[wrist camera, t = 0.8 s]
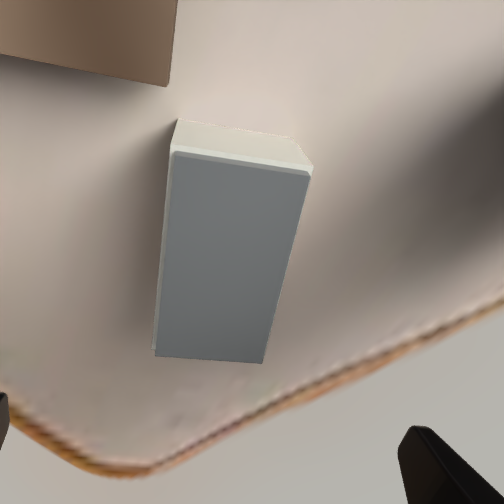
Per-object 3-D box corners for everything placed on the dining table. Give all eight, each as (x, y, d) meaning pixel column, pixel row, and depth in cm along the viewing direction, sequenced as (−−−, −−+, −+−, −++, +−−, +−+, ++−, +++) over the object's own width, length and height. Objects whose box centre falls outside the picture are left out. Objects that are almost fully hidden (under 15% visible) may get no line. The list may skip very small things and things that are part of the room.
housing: (178, 117, 18) (169, 148, 13) (291, 136, 18) (317, 171, 14) (160, 291, 22) (149, 359, 17) (254, 301, 23) (265, 367, 18)
